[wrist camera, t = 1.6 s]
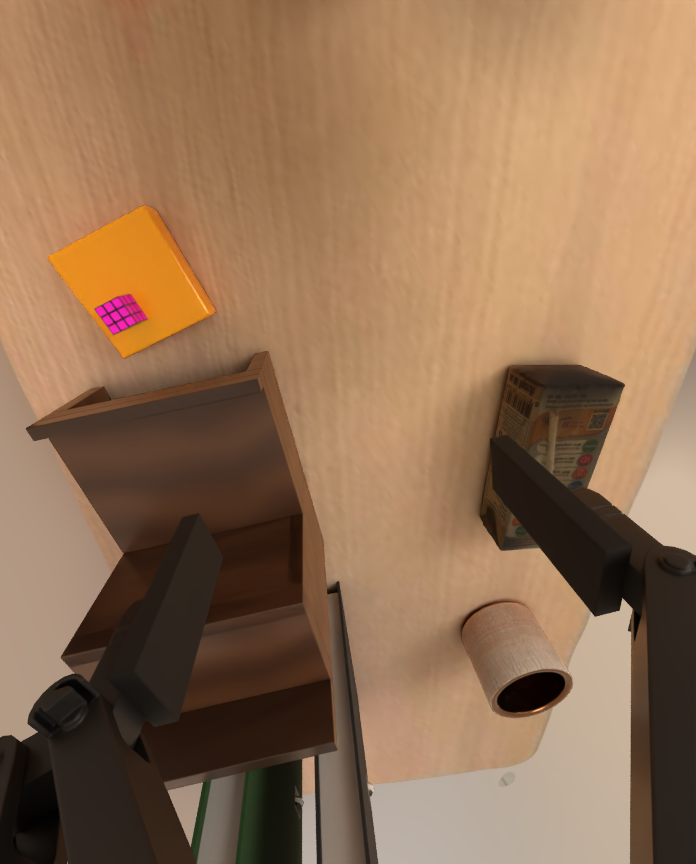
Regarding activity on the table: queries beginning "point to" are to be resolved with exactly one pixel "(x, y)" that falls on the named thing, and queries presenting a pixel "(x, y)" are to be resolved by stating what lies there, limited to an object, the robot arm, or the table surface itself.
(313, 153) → the table surface
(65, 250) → the orange slab
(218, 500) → the step shelf
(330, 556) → the table surface
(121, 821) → the robot arm
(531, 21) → the table surface
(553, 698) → the planter
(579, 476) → the beverage carton
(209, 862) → the books
